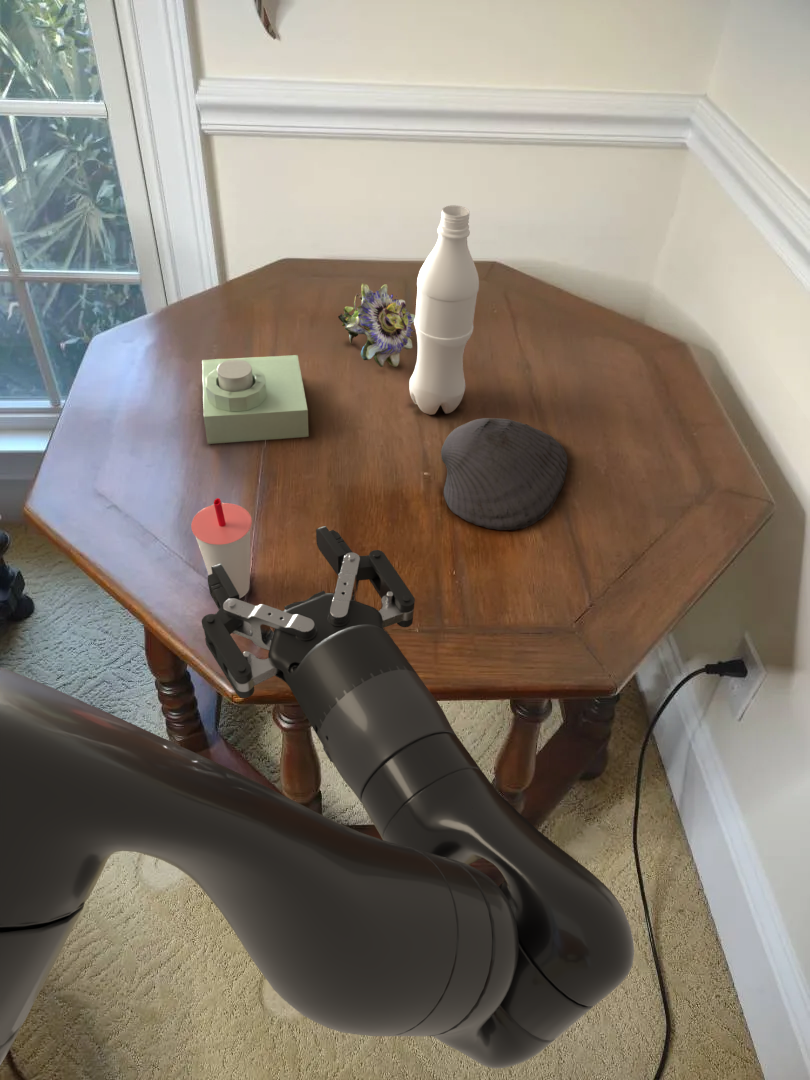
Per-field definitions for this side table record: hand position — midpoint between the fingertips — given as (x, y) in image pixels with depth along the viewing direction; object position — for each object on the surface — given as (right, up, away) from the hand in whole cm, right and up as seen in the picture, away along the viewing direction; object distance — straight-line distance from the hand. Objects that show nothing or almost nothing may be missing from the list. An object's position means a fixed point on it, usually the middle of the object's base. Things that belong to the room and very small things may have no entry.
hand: (269, 553), depth 59 cm
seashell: (+22, +9, +32) cm, 40 cm away
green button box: (-8, +17, +38) cm, 42 cm away
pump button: (-10, +20, +32) cm, 39 cm away
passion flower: (+6, +27, +49) cm, 57 cm away
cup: (-7, -4, +17) cm, 19 cm away
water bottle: (+14, +19, +41) cm, 48 cm away
